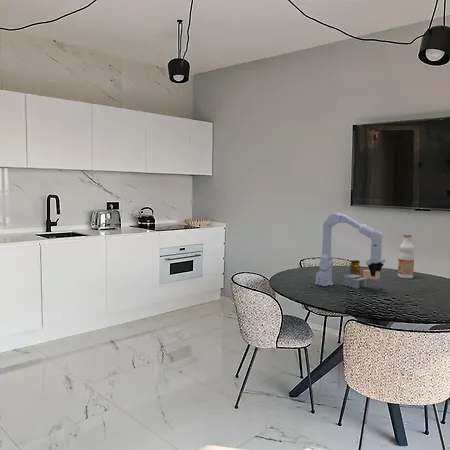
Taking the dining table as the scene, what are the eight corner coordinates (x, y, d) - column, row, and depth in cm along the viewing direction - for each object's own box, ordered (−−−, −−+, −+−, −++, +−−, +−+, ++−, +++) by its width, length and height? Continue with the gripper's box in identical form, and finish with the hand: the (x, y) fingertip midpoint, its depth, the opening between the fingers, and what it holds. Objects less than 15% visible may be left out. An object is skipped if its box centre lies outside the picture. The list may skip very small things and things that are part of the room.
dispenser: (343, 285, 267) (343, 275, 266) (352, 283, 272) (353, 274, 272) (357, 288, 259) (357, 279, 258) (366, 286, 264) (367, 277, 263)
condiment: (362, 280, 282) (362, 261, 281) (349, 280, 281) (350, 261, 279) (357, 277, 289) (357, 259, 288) (344, 278, 288) (345, 259, 287)
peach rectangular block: (363, 277, 260) (363, 270, 260) (366, 276, 262) (366, 269, 262) (376, 279, 253) (376, 272, 253) (379, 278, 255) (379, 271, 254)
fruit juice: (408, 279, 286) (410, 236, 283) (394, 276, 293) (397, 234, 290) (415, 277, 292) (418, 234, 289) (402, 275, 299) (404, 233, 296)
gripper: (374, 254, 247) (372, 278, 248) (389, 252, 255) (388, 275, 256) (363, 252, 252) (362, 276, 254) (379, 250, 261) (378, 273, 262)
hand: (374, 275), depth 255 cm, fingers closed on peach rectangular block, 3 cm apart
